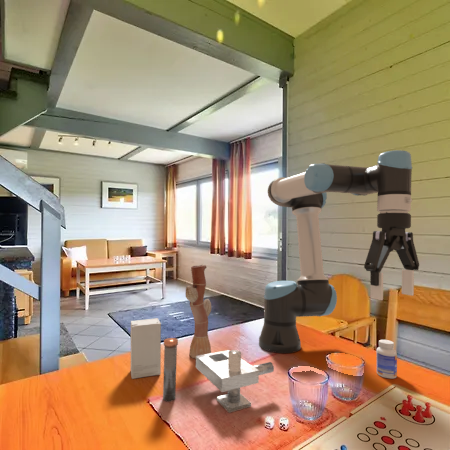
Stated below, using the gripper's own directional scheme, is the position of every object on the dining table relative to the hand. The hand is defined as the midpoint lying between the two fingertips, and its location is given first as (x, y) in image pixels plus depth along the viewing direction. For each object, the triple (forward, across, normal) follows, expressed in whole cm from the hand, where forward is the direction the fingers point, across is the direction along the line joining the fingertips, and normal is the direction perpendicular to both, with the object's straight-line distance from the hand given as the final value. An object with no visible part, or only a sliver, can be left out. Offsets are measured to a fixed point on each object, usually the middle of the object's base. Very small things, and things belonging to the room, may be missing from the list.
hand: (392, 296), depth 78 cm
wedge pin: (+26, -48, +27) cm, 61 cm away
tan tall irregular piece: (+26, -30, +48) cm, 63 cm away
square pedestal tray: (+26, -33, +22) cm, 47 cm away
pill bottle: (+26, +12, +9) cm, 30 cm away
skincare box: (+26, -50, +43) cm, 71 cm away
